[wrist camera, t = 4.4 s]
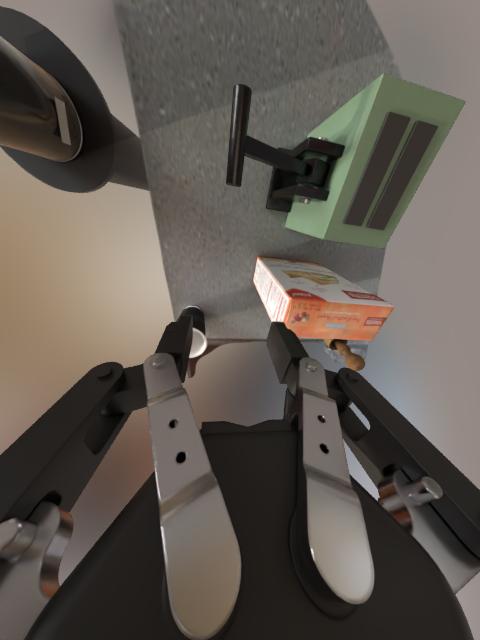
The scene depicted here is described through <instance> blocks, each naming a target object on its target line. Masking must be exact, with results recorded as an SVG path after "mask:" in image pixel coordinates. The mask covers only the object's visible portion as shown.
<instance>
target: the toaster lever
mask: <svg viewBox="0 0 480 640" xmlns="http://www.w3.org/2000/svg"><path fill="white" fill-rule="evenodd" d="M251 94H252V91H251V89H250V88H249V87H248V86H246V85H243V84H237V85H235V86H234V89H233V102H232V115H231V127H230V140H229V153H228V166H227V178H226V184H227V185H230V186H236V187H241V181H242V172H243V163H244V156H247V157H249V158H252V159H255V160H257V161H260V162H262V163H265V164H268V165H270V166H273V167H276V168H278V169H281V170H284V171H286V172H289V173H291V174H294V175H297V177H296V181H295V183H297V184H300V185H303V186H307V187H316V188H323V187H324V185H325V182H326V179H327V176H328V173H329V170H330V167H331V164H329V163H327V162H325V161H323V160H321V159H319V158H312V159H304V160H299V159H297V158H295V157H293V156H291V155H288V154H286V153H284V152H282V151H280V150H278V149H275V148H273V147H271V146H269V145H267V144H265V143H262V142H260V141H258V140H256V139H254V138H252V137H250V136H247V129H248V120H249V111H250V103H251Z"/></svg>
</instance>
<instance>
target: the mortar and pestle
mask: <svg viewBox="0 0 480 640" xmlns="http://www.w3.org/2000/svg"><path fill="white" fill-rule="evenodd" d="M323 340H324V341H325V342H326V344H327V345H328V346H329V348H330V349H332V350H338V352H339V353H340V354H341V355H344V356H345V359H346V364H347V366H348V367H349V368H350V369H352V370H354V371H359V370H361V369H363V368H364V366H365V361H364V359H363V358H362V357H361V356H359V355H357V354H354V353H351V351H350V347H349V346H347V345H346V344H347V340H346V339H323Z"/></svg>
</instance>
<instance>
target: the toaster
mask: <svg viewBox="0 0 480 640" xmlns="http://www.w3.org/2000/svg"><path fill="white" fill-rule="evenodd" d="M464 104H465V101H464V100H461V99H458V98H455V97H452V96H449V95H446V94H443V93H441V92H438V91H435V90H432V89H429V88H426V87H423V86H421V85H417V84H414V83H412V82H409V81H406V80H403V79H400V78H398V77H395V76H392V75H389V74H386V73H383V74H382V75H381V76H379V77H378V78H377V79H376V80H374V81H373V82H372V83H371V84H370V85H368V86H367V87H366V88H365V89H363V90H362V91H361V92H360V93H358V94H357V95H356V96H355V97H354V98H352V99H351V100H350V101H349V102H347V103H346V104H345V105H344V106H342V107H341V108H340V109H339V110H337V111H336V112H335V113H334V114H333V115H331V116H330V117H329V118H328V119H326V120H325V121H324V122H323V123H321V124H320V125H319V126H318V127H316V128H315V129H314V130H313V131H312V132H310V133H309V134H308V136H307V138H308V137H310V136H311V137H314V138H320V137H324V138H327V139H328V140H329V141H330V142H334V143H338V144H342V145H345V149H344V152H343V155H342V157H341V158H339V159H337V160H334V161H332V162H329V164H331V167H330V170H329V173H328V176H327V179H326V182H325V185H324V187H323V188H317V189H321V190H326V191H330V193H329V196H328V199H327V201H321V202H310V204H302V203H293V205H292V209H291V212H290V213H289V212H288V216H287V220H286V224H285V227H286V228H289V229H292V230H295V231H298V232H301V233H304V234H308V235H311V236H314V237H317V238H320V239H324V240H330V241H337V242H343V243H350V244H356V245H363V246H369V247H376V248H382V249H384V248H385V246H386V244H387V242H388V241H389V239H390V237H391V235H392V233H393V231H394V230H395V228H396V226H397V224H398V223H399V221H400V219H401V217H402V215H403V214H404V212H405V210H406V208H407V206H408V204H409V203H410V201H411V199H412V197H413V196H414V194H415V192H416V190H417V188H418V187H419V185H420V183H421V181H422V179H423V178H424V176H425V174H426V172H427V170H428V169H429V167H430V165H431V163H432V162H433V160H434V158H435V156H436V154H437V152H438V151H439V149H440V147H441V145H442V143H443V141H444V140H445V138H446V136H447V135H448V133H449V131H450V129H451V127H452V126H453V124H454V122H455V120H456V118H457V117H458V115H459V113H460V111H461V109H462V107H463V106H464ZM298 185H300V184H298ZM302 186H303V185H302ZM312 188H316V187H312Z"/></svg>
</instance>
